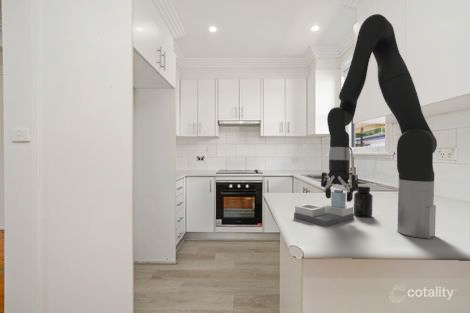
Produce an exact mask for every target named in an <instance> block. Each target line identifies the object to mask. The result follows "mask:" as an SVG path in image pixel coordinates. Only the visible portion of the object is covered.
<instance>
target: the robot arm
mask: <svg viewBox="0 0 470 313" xmlns="http://www.w3.org/2000/svg"><path fill="white" fill-rule="evenodd" d="M372 55H373V57H374V59H375V61H376V65H377V66H376V67H377V81H378V86H379V90H380V91H381V95H382V97H383V100H384V102H385V103H386V105H387V107H388V108H389V110H390V112H391V113H392V115H393V116H394V117H395V119H396V121H397V124H398V126H399V129H400V133H401V135H400V136H399V138H398V139H397V144H396V170H397V173H398V189H397V190H398V192H397V196H398V197H397V223H396V224H397V225H396V226H397V232H398V233H400V234H402V235H405V236H409V237H414V238H422V239H427V240H430V239H431V238H433V237H434V236H436V216H437V215H436V214H437V212H436V211H437V209H436V208H437V206H436V204H434V203H435V172H434V163H433V162H434V161H433V160H434V158H433V157H434V156H433V154H434V153H435V152H436V150H437V146H438V142H437V138H436V136H435V135H434V134H433V131H432V130H431V128H430V126H429V124H428V122H427V120H426V118H425V115H424V112H423V110H422V107H421V102H420V98H419V96H418V91H417V89H416V86H415V83H414V81H413V78H412V76H411V72H410V70H409V69H408V66H407V64H406V63H405V60H404V58H403V57H402V54H401V52H400V50H399V47H398V42H397V39H396V34H395V29H394V26H393V24H392V23H391V22H390V21H389V20H388V19H387V18H386V17H385V15H382V14H379V13H376V14H372V15H370V16H368V17H367V18H366V19H364V20H363V22H362V23H361V25H360V27H359V31H358V33H357V38H356V43H355V47H354V51H353V54H352V57H351V62H350V64H349V68H348V72H347V73H346V74H347V75H346V76H345V77H346V78H345V79H344V81H343V84H342V87H341V89H340V92H339V95H338V99H339V101H340V103H339V106H335V107H333V108H331V109H330V110H329V112H328V115H327V118H326V122H327V128H328V133H329V137H330V138H329V153H328V172H327V171H326V172H325V171H323V172H321V177H320V178H321V180H320V181H321V183H320V186H321V187H323V188H324V189H325V197H326V199H331V194H332V187H333V185H339V186H343V188H345V191H346V203H347V202H348V203H351V202H352V201H353V200H354V195H353V194H354V192H357V190H358V186H359V177H358V174H350V168H351V167H350V162H351V161H350V160H351V157H350V156H351V153H350V152H351V151H350V134H349V133H348V132H347V130H346V127H347V126H349V125H350V124H351V123H352V122H353V120H354V117H355V113H356V111H357V110H356V109H357V104H358V99H359V98H360V95H361V93H362V91H363V88H364V86H365V84H366V79H367V76H368V67H369V63H370V59H371V57H372ZM328 179H329V180H328ZM349 179H350V181H351V183H350V181H349Z"/></svg>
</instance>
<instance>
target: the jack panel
mask: <svg viewBox="0 0 470 313" xmlns="http://www.w3.org/2000/svg"><path fill="white" fill-rule="evenodd" d="M354 216H355V215H354V206H350V205H349V206H348V205H345V208H336V207H331V203H330V204H325V205H323V206H320V205H315V204H310V203H305V204H300V205H294V213H293V217H294V219H297V220H302V221H305V222H309V223H313V224H316V225H320V226H323V227H329V226H333V225H335V224H339V223H342V222H346V221H350V220H352V219H354V218H355V217H354Z"/></svg>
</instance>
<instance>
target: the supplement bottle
mask: <svg viewBox="0 0 470 313" xmlns="http://www.w3.org/2000/svg"><path fill="white" fill-rule="evenodd" d="M353 194H354V195H353V213H354V216H356V217H361V218H371V217H372V216H373V194H372V193H371V187H370V186H367V185H358V190H357V191H355V193H353Z"/></svg>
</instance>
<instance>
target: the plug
mask: <svg viewBox="0 0 470 313" xmlns="http://www.w3.org/2000/svg"><path fill="white" fill-rule="evenodd" d="M330 200H331V202H330V204H331V207H336V208H345V206H346V203H347V192H344V189H339V188H337V189H334V190H333V191H331V198H330Z"/></svg>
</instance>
